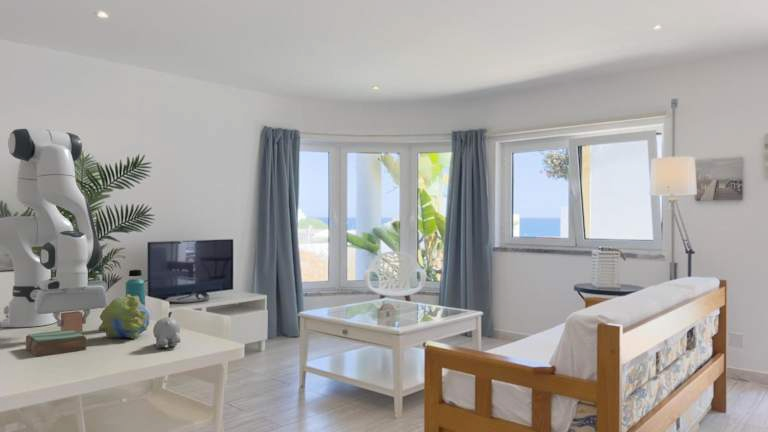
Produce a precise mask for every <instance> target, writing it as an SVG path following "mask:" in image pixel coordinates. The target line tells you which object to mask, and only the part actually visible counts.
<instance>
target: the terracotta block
mask: <svg viewBox="0 0 768 432" xmlns="http://www.w3.org/2000/svg"><path fill="white" fill-rule="evenodd" d="M83 315H84V312H81V311H80V310H77V311H67V312H60V318H61V320H63V321H64V323H63V324H64V325H63V326H60V331H62V330H70V329H72V330H74V331H76V332H78V333H82V332H83V325H84V324H83Z"/></svg>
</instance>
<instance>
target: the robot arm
mask: <svg viewBox="0 0 768 432" xmlns="http://www.w3.org/2000/svg"><path fill="white" fill-rule="evenodd" d="M7 140H8V141H7V148H8V151H9V154H10V155H11V156H12V157H13V158H15V159H18V160H19V165H18V169H17V170H18V172H17V186H16V187H17V188H16V198H17V200H18V202H20V203H21V204H22V205H24V206H26V207H29V208H31V209H33V210H34V213H35V214H34V215H33V216H31V215H29V216H28V215H26V216H25V215H24V216H23V215H21V216H20V215H16V216H15V215H14V216H4V217H0V248H1V249H2V250H3V251H5V253H6V254H7V255H8V256H9V258H10V260H11V262H12V266H13V277H14V278H13V279H14V285H13V286H12V293H11V294H12V299H11V300H10V301H9V302H8V305H6V306H5V307H4V308H3V314H4V315H5V318H3V319H2V321H1V324H0V328H30V327H40V326H41V327H42V326H46V325H47V326H48V325H51V324H52V325H53V324H55V323H56V326H57V327H60V328H61V326H63V325H64V324H63V323H64V321H63V320H61V313H64V312H74V311H83V312H82V313H83V325H85V324H87V318H88V317H89V315H90V313H91V310H95V309H103V308H104V309H105V307H107V306H108V305H107V304H108V302H107V301H108V299H107V290H108V284H107V282H106V281H104V280H101V279H97V280H88V278H89V274H88V273H89V270H93V269H95V268H96V267H97V266H99V264H100V263H101V262H102V261H103V249H102V246H101V244H100V241H99V238H98V235H97V230H96V227H95V226H96V225H95V223H94V218H93V217H94V216H93V213H92V209H91V205H90V202H89V200H88V197H87V195H85V194H84V193H82V192H81V190H80V189H79V187H78V184H77V179H76V171H75V162H76V161H78V160H79V159H80V158H81V156H82V152H83V143H82V141H81V139H80V137H79V136H78V135H77V134H74V133H70V132H62V131H59V130H58V131H56V130H51V129H27V128H16V129H14V130H13V131H11V133H10V134H9V137H8V139H7ZM57 207H59V208H62V209H64V210H66V211H69V212H70V213H71V214H72V215H73V216H74V217H75V219H76V223H77V228H78V230H74V227H73V224H72V222H71V221H70V219H68V218H66V217H65V216H63V214H62V213H61V212H60V210H59V209H58V208H57ZM33 247H41V248H40V250H39V255H37V254H34V252H33ZM52 271H56V273H55V276H53V277H52ZM59 316H60V317H59Z"/></svg>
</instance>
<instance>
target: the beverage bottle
mask: <svg viewBox="0 0 768 432" xmlns="http://www.w3.org/2000/svg"><path fill="white" fill-rule="evenodd" d="M142 275H143V274H142V270H141V269H130V270H129V271H128V277H141V276H142ZM145 283H146V282H145V281H144V280H143V279H141V278H132V279H128V280H127V281H126V282H125V296H126V295H127V294H129V295H131V296H138V297H139V300H140V302H141V304H144V305H145V306H146V284H145Z"/></svg>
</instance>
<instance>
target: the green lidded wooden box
mask: <svg viewBox="0 0 768 432" xmlns="http://www.w3.org/2000/svg"><path fill="white" fill-rule="evenodd" d="M86 348H87V336H85V335H84V334H81V332H76V331H74V330H72V329H70V330H62V331H61V330H55V331H46V332H40V333H39V332H38V333H30V334H29V333H28V334H27V335H26V336H25V349H26V350H27V351H29V352H30V353H32V354H33V355H34V356H35V357H45V356H51V355H58V354H64V353H72V352H79V351H85V350H87V349H86Z"/></svg>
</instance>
